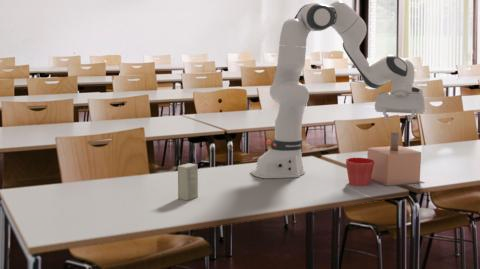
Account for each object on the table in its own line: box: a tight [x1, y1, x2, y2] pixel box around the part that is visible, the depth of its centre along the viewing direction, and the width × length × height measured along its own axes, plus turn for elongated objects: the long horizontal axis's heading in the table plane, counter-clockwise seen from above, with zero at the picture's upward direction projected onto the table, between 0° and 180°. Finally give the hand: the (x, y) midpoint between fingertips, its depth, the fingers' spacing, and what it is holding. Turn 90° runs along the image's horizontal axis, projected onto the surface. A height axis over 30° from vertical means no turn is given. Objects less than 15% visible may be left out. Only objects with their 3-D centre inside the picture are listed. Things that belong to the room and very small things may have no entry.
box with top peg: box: [367, 131, 422, 185], centre depth 271 cm, size 15×15×19 cm
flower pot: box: [345, 157, 374, 187], centre depth 265 cm, size 11×11×10 cm
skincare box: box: [177, 162, 199, 201], centre depth 244 cm, size 6×4×12 cm
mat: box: [370, 179, 425, 188], centre depth 273 cm, size 18×18×1 cm
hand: (397, 119), depth 278 cm, fingers open, 8 cm apart
